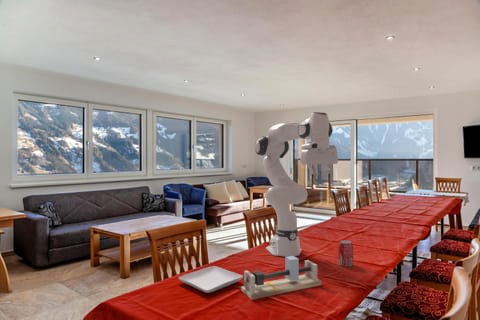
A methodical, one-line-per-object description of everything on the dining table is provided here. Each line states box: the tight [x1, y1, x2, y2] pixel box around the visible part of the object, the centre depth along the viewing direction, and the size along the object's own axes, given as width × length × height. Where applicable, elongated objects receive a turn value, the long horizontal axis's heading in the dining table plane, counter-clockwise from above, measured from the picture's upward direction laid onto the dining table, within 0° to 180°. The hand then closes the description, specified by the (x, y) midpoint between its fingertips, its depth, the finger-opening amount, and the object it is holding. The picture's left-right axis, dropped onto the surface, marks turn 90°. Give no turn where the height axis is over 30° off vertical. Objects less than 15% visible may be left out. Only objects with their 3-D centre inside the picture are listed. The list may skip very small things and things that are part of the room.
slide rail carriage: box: [284, 256, 300, 281], centre depth 141 cm, size 4×4×9 cm
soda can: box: [338, 239, 354, 268], centre depth 166 cm, size 7×7×12 cm
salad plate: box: [178, 265, 244, 294], centre depth 145 cm, size 21×21×3 cm
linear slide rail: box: [240, 259, 323, 301], centre depth 139 cm, size 10×34×8 cm, turn 114°
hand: (320, 173), depth 158 cm, fingers open, 8 cm apart
